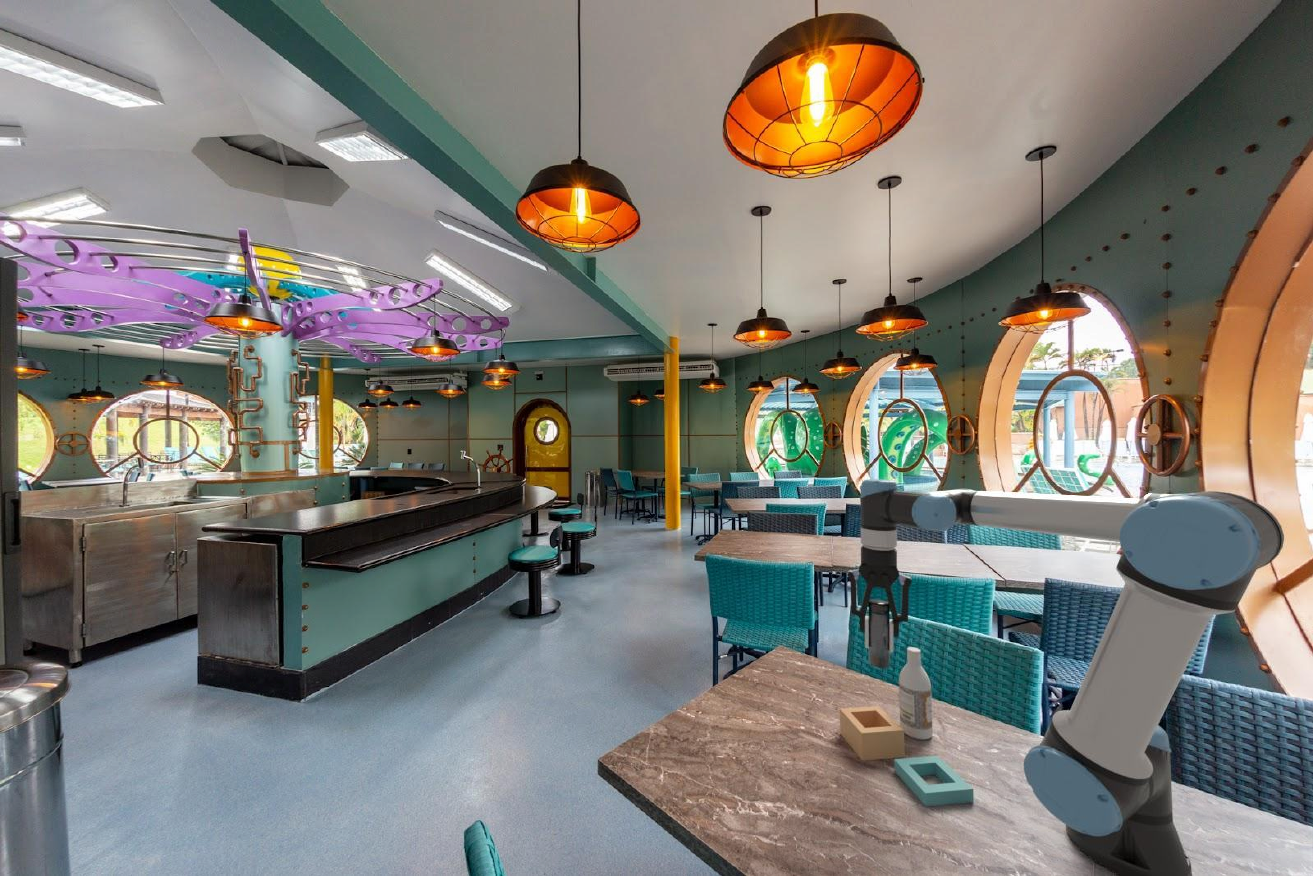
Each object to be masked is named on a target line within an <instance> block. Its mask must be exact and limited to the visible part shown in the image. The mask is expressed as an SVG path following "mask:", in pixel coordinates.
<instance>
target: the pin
mask: <svg viewBox="0 0 1313 876" xmlns="http://www.w3.org/2000/svg"><path fill="white" fill-rule="evenodd" d="M867 610H868V612H867V613H868V616H869V648H868V663H869V665H871V666H872V667H876V668H880V669H888V668H889V667H890V665H891V658H890V657H891V652H890V642H889V622H890V618H891V617H890V615H891V611H890V607H889V603H888V601H885V600H882V599H876V598H875V599H870V600H869V604H868V608H867Z"/></svg>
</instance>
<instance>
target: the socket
mask: <svg viewBox="0 0 1313 876" xmlns="http://www.w3.org/2000/svg"><path fill="white" fill-rule="evenodd" d="M839 722H840V725H839V727H840V730H839V731H840V735H841V736H842V737H843V739H844V740H845V741H846V742H847V744H848V746H850V747H851V749H852V750H853V751H854V752H855V754H857V756H858V757H859V759H861V760H862V761H874V760H884V759H885V760H887V759H888V760H889V759H902V758H905V757H906V751H905V750H906V749H905V747H906V746H905V733H904V730H903V729H902V728H901V727H900V724H898V723H897V722H896V721H895V720H894V719H893V718H892V717H891V716H890V715H889V714H888V713H887V712H886V711H884V709H882V707H880V706H879V705H873V706H861V707H860V706H857V707H847V708H846V707H842V708H839Z"/></svg>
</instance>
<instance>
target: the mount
mask: <svg viewBox="0 0 1313 876" xmlns="http://www.w3.org/2000/svg"><path fill="white" fill-rule="evenodd" d="M893 762H894V763H893V765H894V772H895V774H897V776H898V777H899V778H900V779H901V780H902V781H903V783H905V784H906V786H907V787H908V788H909V789H910V790H911V791H912V793H913V794H915V796H916V797H917V798H918V799H919V801H920V802H921V803H922V804H923V805H924V806H925V807H931V806H932V807H933V806H934V807H935V806H944V805H953V804H954V805H956V804H964V803H965V804H966V803H967V804H968V803H974V802H975V801H974V797H975V796H974V788H973V787H972V786H971V785H970V784H969V783H967V782H966V780H965V779H963V778H962V777H961V776H960V775H959V774H958V773H957V772H956V771H955V770H953V768H951V767H950V765H948V763H946V762H945V761H944V760H943V759H942V758H941V757H940V756H938V755H930V756H920V757H919V756H917V757H906V758H905V757H902V758H893ZM935 775H936V777H938V779H940V781H942V782H943V783H933V784H928V783H927V782H926V781H925V780H924V779H923V778H922V777H923V776H924V777H925V776H935Z"/></svg>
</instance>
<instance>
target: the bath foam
mask: <svg viewBox="0 0 1313 876" xmlns="http://www.w3.org/2000/svg"><path fill="white" fill-rule="evenodd" d="M921 660H922V655H921V649H919V648H918V647H913V646H908V647H906V661H907V663H906V664H905V665H904V666H903V668H902V669H901V671H900V672H899V676H898V702H899V723H900V724H899V726H900V727H901V728H902V729H903V730H904V735H907V736H908V737H910V738H913V739H915V740H916V739H917V740H929V739H930V738H932V736H933V734H934V733H933V730H934V729H933V705H932V702H933V700H932V685H931V680H930V678H929V675H928V674H927V672H926V670H925V669H924V667H923V666H922V661H921Z"/></svg>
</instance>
